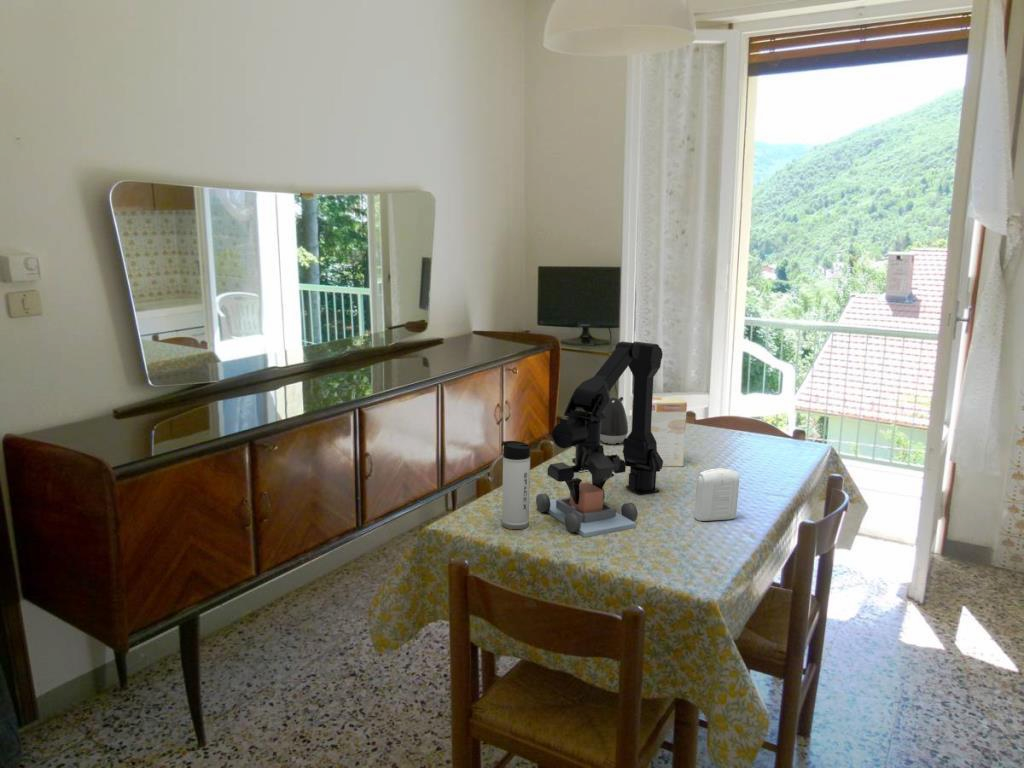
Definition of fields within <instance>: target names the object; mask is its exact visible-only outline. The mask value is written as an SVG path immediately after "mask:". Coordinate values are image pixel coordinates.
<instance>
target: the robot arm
mask: <svg viewBox="0 0 1024 768" xmlns="http://www.w3.org/2000/svg"><path fill="white" fill-rule="evenodd" d="M662 360H663V350H662V348H661V347H660V345H659V344H657V343H651V342H643V341H633V342H631V341H629V342H628V341H624V340H623V341H620V342H617V344H616V345H615V349H614V351H613V352H612V353H611V354H610V356H609V357H608V358H607V360H606V361H605V362H604V363H603V364H602V365H601V366H600V368H599V370H598V371H597V372H596V374H595V375H593V376H592V377H590V378H588V379H586V380H584V381H583V382H581V383H580V384H579V385H578V386H576V388H575V390H574V391H573V392H572V395H571V397H570V399H569V402H568V404H567V406H566V408H565V411H564V414H563V415H564V417H560V418H559V423H557V424H556V425H555V426H554V427H553V430H552V432H551V433H552V440H553V442H554V444H555V445H556V446H557V447H559V448H561V449H567V448H570V447H571V448H572V447H574V448H575V452H574V453H575V455H574V456H575V457H573V458H572V460H571V462H572V463H573V464H574V465H568V464H566V463H564V462H563V461H561V462H555V463H550V464H549V465H548V467H547V476H549V477H550V478H552V479H553V480H554V481H556V482H559V483H562V482H565V484H566V486H567V487H568V489H569V494H570V493H571V495H572V498H573V500H574V503H575V504H578V502H579V484H580V483H582V482H583V481H582V479H581V478H579V475H580V474H582V473H590V474H591V484H593V485H594V486H596V487H598V488H600V489H601V490H602V488H603V489H604V486H605V484H606V482H607V481H608V480H610V478H614V476H615V474H620V473H621V474H622V473H625V472H626V470H627V469H626V468H627V467H630V468H629V473H628V485H625V488H626V489H628V490H630V491H632V492H633V493H635V494H637V495H645V494H651V493H657V492H660V489H659V488H658V487H656V484H657V483H656V482H657V481H656V480H657V473H658V472H660V471H661V470H662V469H663V466H662V465H663V460H662V458H661V457H660V455H659V454H658V452H657V443H656V440H655V438H654V436H653V434H652V433H651V418H652V398H654V397H653V396H654V395H653V393H654V391H653V390H654V377H655V376H656V375H657V373H658V372H659V370H660V369H661V364H662ZM627 368H629V371H630V372H631V374H632V376H633V392H632V394H633V395H632V398H633V412H632V411H631V416H632V431H631V430H630V433H629V434H628V436H626V438H625V439H624V441H623V447H622V448H623V449H622V455H623V459H624V460H623V459H622V458H620V456H619V455H618V454H606V455H605V452H604V451H605V450H604V445H603V444H601V440H600V431H601V420H602V419H605V418H606V416H605V415H604V414H603V413H602V411H603V410H604V408H605V407H606V405H607V403H608V401H609V399H610V397H611V395H610V392H611V390H612V388H613V387H614V386H615V384H616V383H617V382H618V380H619V379H620V377H621V376H622V375H623V373H624V372H625V371H626V370H627ZM614 473H615V474H614Z"/></svg>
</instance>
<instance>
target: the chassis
mask: <svg viewBox="0 0 1024 768" xmlns="http://www.w3.org/2000/svg"><path fill="white" fill-rule="evenodd" d="M602 490H603V510H601V511H595V512H589V513H582V512H581V511H579V510H578V509H576V508H575V507H573V506H572V505H570V496H566V497H561V498H560V497H559V498H554V499H550V496H549V495H548V494H547V493H539V494H537V495H536V498H535V506H536V507H537V510H538V512H540V513H545V512H546V513H548V514H549V515H551V516H552V517H554V518H555V519H557V520H558V521H560V522H561V523H563V524H564V525H565V528H566V530H567V532H569V533H578V534H579V535H581V536H582V537H583V538H588V537H592V536H593V537H594V536H599V535H604V534H609V533H615V532H619V531H624V530H630V529H634V528H637V523H636V520H637V519H638V513H639V512H638V508H637V506H636V505H635V504H634V503H633V502H625V503H623V504H622V505H621V508H620V513H619V512H617V508H615V507H614V506H613V505H611V504H609V503H607V502H606V501H605V498H606V497H605V496H606V495H605V490H604V487H603V488H602Z"/></svg>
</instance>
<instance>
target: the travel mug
mask: <svg viewBox="0 0 1024 768" xmlns="http://www.w3.org/2000/svg"><path fill="white" fill-rule="evenodd" d="M501 446H502V447H503V451H502V452H503V454H502V494H501V495H502V501H501V503H502V509H501V511H502V512H501V513H502V514H501V516H502V517H501V518H502V519H501V525H502V526H503V527H504V528H505V527H506V528H505V529H507V528H508V530H512V529H520V530H525V529H526V528H528V527H529V526H530V492H531V491H530V488H531V486H530V483H531V446H530V445H529V444H528V443H526V442H523V441H517V440H505V441H504V440H502V441H501Z"/></svg>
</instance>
